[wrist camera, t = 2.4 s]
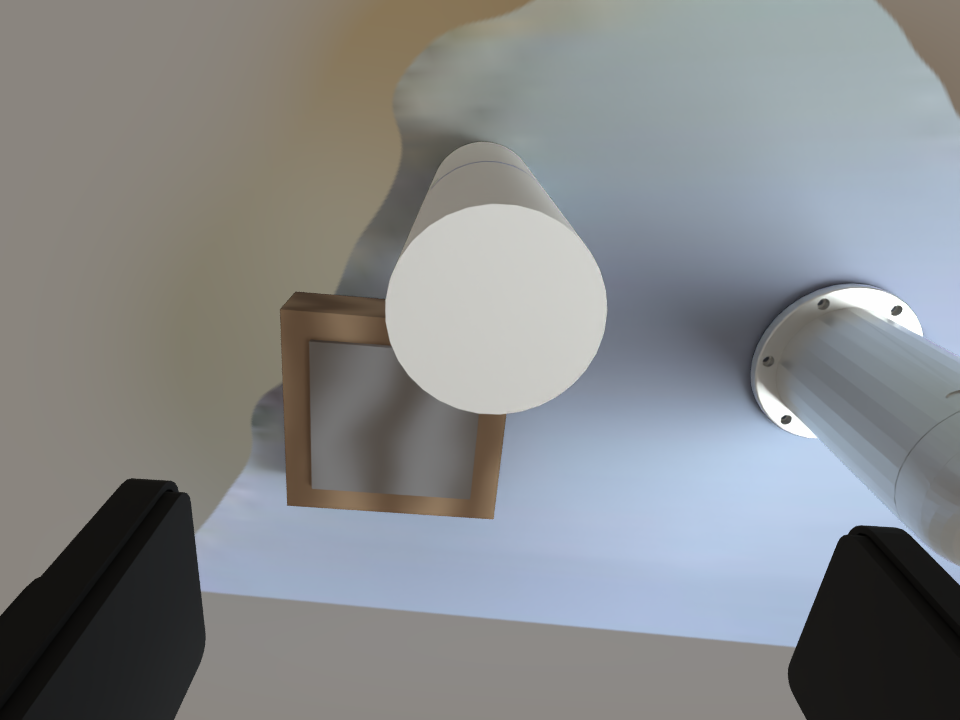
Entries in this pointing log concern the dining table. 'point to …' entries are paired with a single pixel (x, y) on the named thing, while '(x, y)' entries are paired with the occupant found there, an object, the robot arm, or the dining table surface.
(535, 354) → the cylindrical container
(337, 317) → the walnut base
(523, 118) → the dining table surface
